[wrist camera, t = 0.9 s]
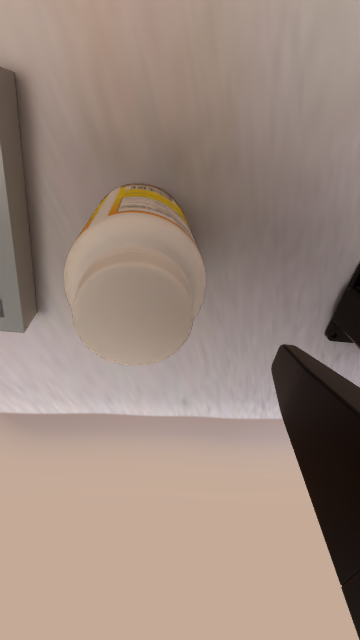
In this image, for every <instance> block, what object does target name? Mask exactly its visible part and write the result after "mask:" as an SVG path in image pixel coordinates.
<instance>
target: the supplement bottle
mask: <svg viewBox="0 0 360 640" xmlns="http://www.w3.org/2000/svg"><path fill="white" fill-rule="evenodd" d="M64 288H65V292H66V296H67V299H68V302H69V304H70V306H71V308H72V316H73V322H74V325H75V329H76V331H77V333H78V335H79V337H80V338H81V340H82V341H83V342H84V344H85V345H86V346H87V347H88V348H89V349H90V350H92V351H93V352H94V353H96V354H97V355H99V356H100V357H102V358H104V359H106V360H108V361H111V362H114V363H118V364H123V365H147V364H151V363H155V362H158V361H161V360H163V359H165V358H167V357H169V356H170V355H172V354H173V353H175V352H176V351H177V350H178V349H179V348H180V347H181V346H182V345H183V344H184V342H185V341H186V340H187V338H188V336H189V334H190V331H191V329H192V325H193V319H194V317H195V316H196V314H197V313H198V311H199V309H200V307H201V305H202V302H203V299H204V295H205V290H206V273H205V268H204V264H203V260H202V257H201V255H200V252H199V250H198V248H197V245H196V243H195V240H194V238H193V235H192V233H191V230H190V228H189V226H188V224H187V221H186V219H185V216H184V214H183V212H182V210H181V208H180V207H179V205H178V204H177V202H176V201H175V200H174V199H173V198H172V197H171V196H170V195H169V194H167V193H166V192H165V191H163V190H161V189H159V188H157V187H155V186H152V185H148V184H139V183H134V184H128V185H124V186H121V187H119V188H117V189H115V190H113V191H112V192H110V193H109V194H108V195H107V196H106V197H105V198H104V199H103V200H102V201H101V203H100V204H99V206H98V207H97V209H96V210H95V212H94V213H93V215H92V216H91V218H90V220H89V221H88V223H87V224H86V226H85V227H84V229H83V230H82V232H81V233H80V235H79V236H78V238H77V239H76V241H75V243H74V244H73V246H72V248H71V250H70V252H69V254H68V257H67V260H66V264H65V268H64Z"/></svg>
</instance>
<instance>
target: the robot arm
mask: <svg viewBox="0 0 360 640" xmlns="http://www.w3.org/2000/svg"><path fill="white" fill-rule="evenodd" d="M333 333H334V334H333ZM332 334H333V335H332ZM325 336H326V337H327V338H328V339H329V340H330V341H338V342H348V343H355V344H356V345H357V346H358V347H359V348H360V265H359V266H358V268H357V270H356V272H355V274H354V276H353V278H352V280H351V282H350V284H349V286H348V288H347V290H346V292H345V294H344V296H343V298H342V300H341V302H340V304H339V306H338V308H337V310H336V312H335V314H334V317H333V319H332V321H331V323H330V325H329V327H328V329H327V331H326V333H325ZM271 370H272V376H273V380H274V385H275V389H276V393H277V398H278V402H279V407H280V411H281V414H282V418H283V420H284V424H285V426H286V429H287V432H288V435H289V438H290V441H291V444H292V447H293V449H294V452H295V455H296V458H297V461H298V464H299V467H300V470H301V472H302V475H303V478H304V481H305V484H306V487H307V490H308V493H309V495H310V498H311V501H312V504H313V507H314V510H315V513H316V515H317V518H318V521H319V524H320V527H321V530H322V533H323V536H324V539H325V541H326V544H327V547H328V550H329V553H330V556H331V559H332V561H333V564H334V567H335V570H336V573H337V576H338V579H339V582H340V584H341V585H342V587H341V588H342V591H343V594H344V597H345V600H346V603H347V605H348V608H349V611H350V614H351V617H352V620H353V623H354V625H355V628H356V631H357V634H358V637H359V640H360V388H359V387H358V386H356V385H355V384H353V383H352V382H350V381H349V380H347V379H346V378H344V377H343V376H341V375H339V374H338V373H336V372H335V371H333V370H332V369H330V368H329V367H327V366H326V365H324V364H323V363H321V362H319V361H318V360H316V359H315V358H313V357H312V356H310V355H309V354H307V353H306V352H304V351H303V350H301V349H300V348H298V347H296V346H294V345H286V344H283V345H281V346H280V347H279V349H278V351H277V354H276V356H275V359H274V361H273V363H272V368H271Z"/></svg>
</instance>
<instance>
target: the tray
mask: <svg viewBox="0 0 360 640" xmlns="http://www.w3.org/2000/svg"><path fill="white" fill-rule="evenodd" d="M36 313H37V307H36V296H35V285H34V275H33V264H32V254H31V243H30V233H29V222H28V212H27V201H26V191H25V180H24V169H23V159H22V148H21V138H20V127H19V117H18V106H17V96H16V85H15V75H14V72H12V71H9V70H7V69H4V68H2V67H0V331H8V332H20V333H24V332H25V331H26V329H27V328H28V326H29V324H30V323H31V321H32V319H33V318H34V316H35V315H36Z"/></svg>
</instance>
